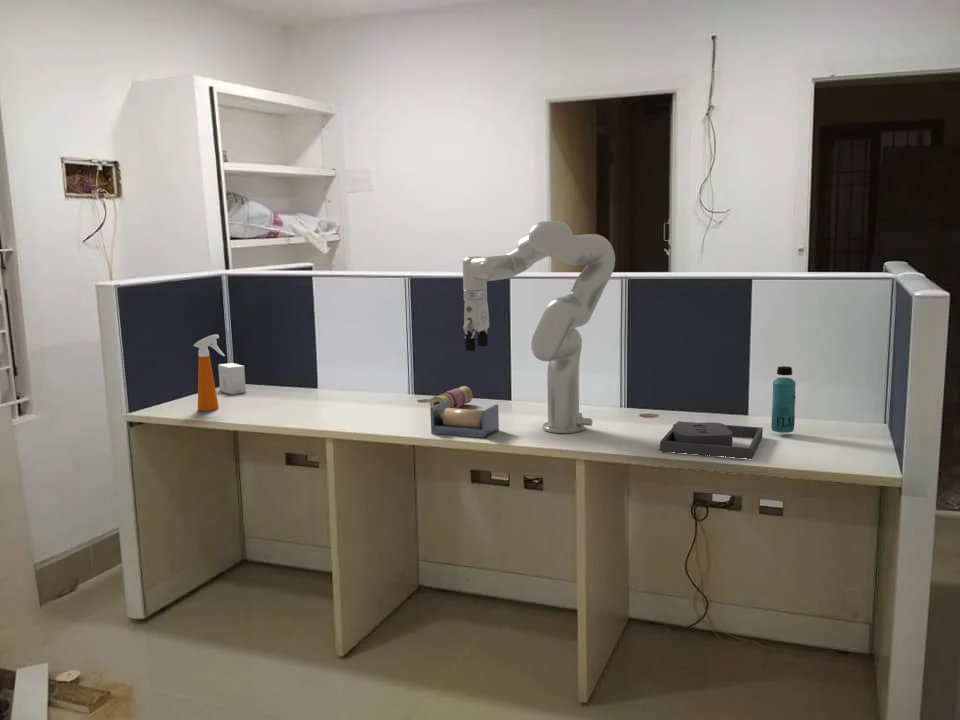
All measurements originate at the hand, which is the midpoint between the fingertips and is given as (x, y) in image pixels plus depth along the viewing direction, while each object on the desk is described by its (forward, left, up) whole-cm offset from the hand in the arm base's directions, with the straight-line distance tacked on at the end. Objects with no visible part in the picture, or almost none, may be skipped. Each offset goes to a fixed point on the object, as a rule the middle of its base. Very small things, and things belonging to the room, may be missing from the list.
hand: (476, 348), depth 279 cm
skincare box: (+107, -7, -23) cm, 110 cm away
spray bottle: (+93, +20, -22) cm, 98 cm away
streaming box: (-75, +14, -23) cm, 79 cm away
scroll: (+11, -4, -23) cm, 26 cm away
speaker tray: (-77, +12, -22) cm, 81 cm away
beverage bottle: (-94, -5, -22) cm, 97 cm away
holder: (-5, +21, -22) cm, 31 cm away
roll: (-5, +21, -21) cm, 30 cm away
